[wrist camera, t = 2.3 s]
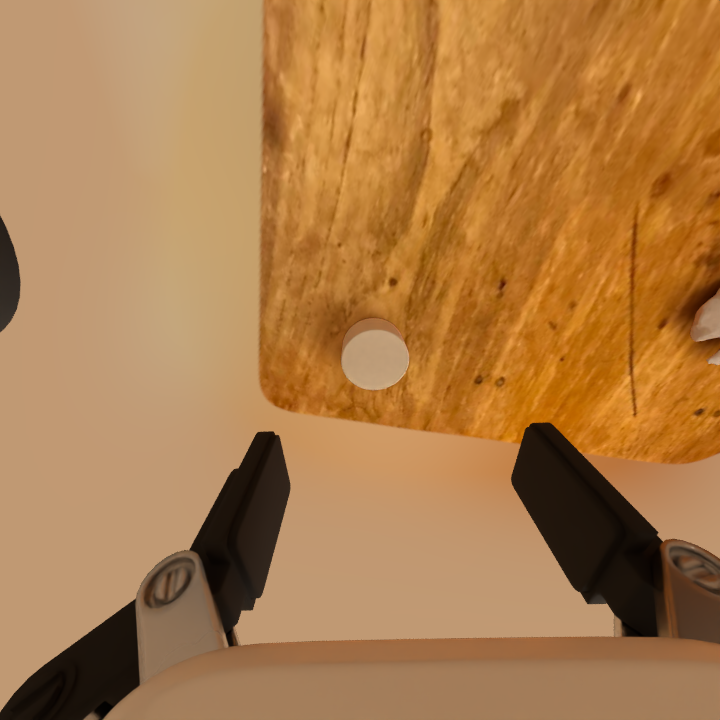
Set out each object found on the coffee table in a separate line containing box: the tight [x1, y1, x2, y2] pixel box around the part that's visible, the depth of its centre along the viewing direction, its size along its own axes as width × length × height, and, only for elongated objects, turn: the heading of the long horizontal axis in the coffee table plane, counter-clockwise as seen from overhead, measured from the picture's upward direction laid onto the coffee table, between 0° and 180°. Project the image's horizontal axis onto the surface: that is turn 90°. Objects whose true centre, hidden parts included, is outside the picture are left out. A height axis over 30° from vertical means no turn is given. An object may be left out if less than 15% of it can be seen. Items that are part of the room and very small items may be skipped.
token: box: [341, 318, 409, 390], centre depth 18 cm, size 4×4×2 cm
